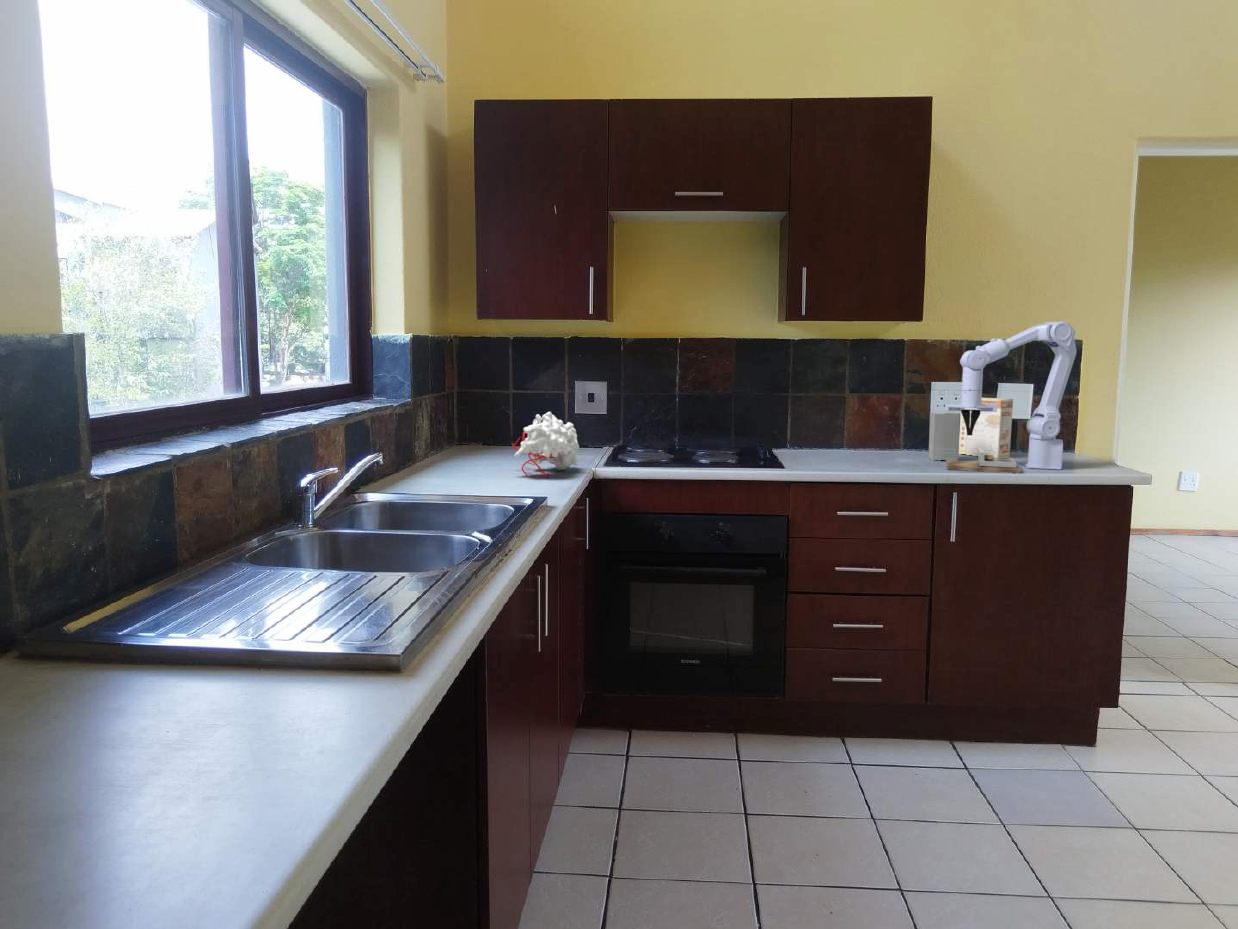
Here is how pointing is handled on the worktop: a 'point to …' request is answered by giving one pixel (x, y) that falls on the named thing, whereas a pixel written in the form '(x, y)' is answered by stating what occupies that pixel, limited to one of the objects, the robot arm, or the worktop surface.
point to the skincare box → (944, 435)
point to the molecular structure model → (549, 443)
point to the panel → (995, 460)
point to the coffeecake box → (989, 430)
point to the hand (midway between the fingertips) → (969, 435)
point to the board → (975, 466)
